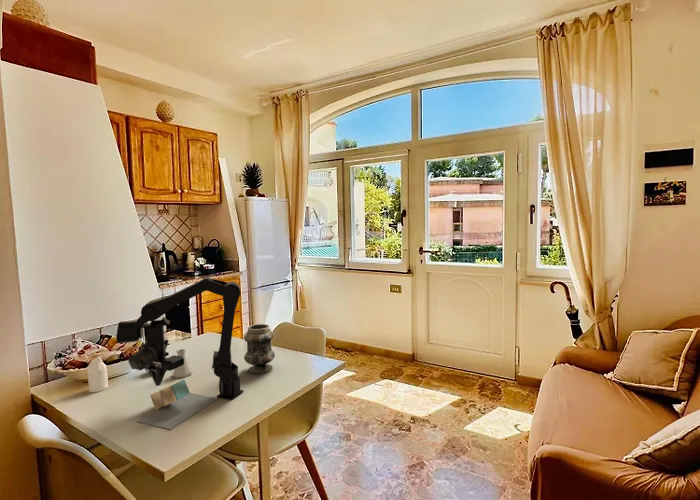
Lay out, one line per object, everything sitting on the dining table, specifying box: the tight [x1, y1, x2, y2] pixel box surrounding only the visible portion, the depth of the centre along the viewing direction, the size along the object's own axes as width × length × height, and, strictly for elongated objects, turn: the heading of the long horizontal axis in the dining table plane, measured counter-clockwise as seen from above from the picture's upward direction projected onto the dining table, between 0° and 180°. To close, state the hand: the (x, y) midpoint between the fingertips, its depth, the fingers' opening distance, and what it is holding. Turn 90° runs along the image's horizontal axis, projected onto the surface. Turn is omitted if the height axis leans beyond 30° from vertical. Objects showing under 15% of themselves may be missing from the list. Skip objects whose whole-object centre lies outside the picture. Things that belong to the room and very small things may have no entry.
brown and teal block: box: [149, 378, 191, 410], centre depth 123 cm, size 5×5×11 cm
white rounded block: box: [86, 356, 109, 393], centre depth 138 cm, size 6×12×6 cm
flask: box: [171, 348, 194, 379], centre depth 149 cm, size 7×7×10 cm
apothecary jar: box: [243, 323, 276, 375], centre depth 152 cm, size 12×12×18 cm
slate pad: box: [136, 392, 219, 431], centre depth 122 cm, size 14×20×1 cm
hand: (158, 385), depth 124 cm, fingers closed
